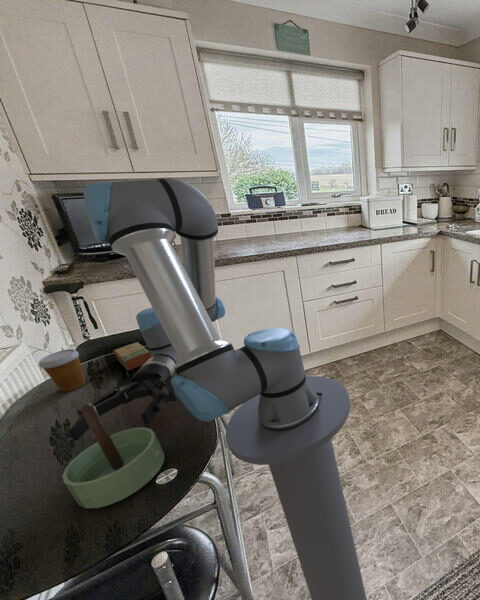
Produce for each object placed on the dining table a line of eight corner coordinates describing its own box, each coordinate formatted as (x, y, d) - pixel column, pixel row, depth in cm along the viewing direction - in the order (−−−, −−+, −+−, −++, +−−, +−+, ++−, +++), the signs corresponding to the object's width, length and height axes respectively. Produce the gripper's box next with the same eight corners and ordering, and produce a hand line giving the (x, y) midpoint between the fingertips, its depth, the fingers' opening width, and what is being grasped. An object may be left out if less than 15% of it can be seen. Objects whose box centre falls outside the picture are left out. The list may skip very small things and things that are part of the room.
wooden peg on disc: (143, 457, 76) (110, 389, 69) (141, 477, 70) (104, 405, 64) (105, 473, 73) (66, 403, 66) (100, 495, 67) (56, 422, 60)
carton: (141, 350, 133) (138, 341, 131) (154, 360, 123) (150, 350, 122) (116, 359, 127) (112, 350, 126) (127, 371, 117) (123, 361, 116)
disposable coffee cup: (59, 397, 105) (41, 365, 101) (51, 390, 110) (33, 359, 106) (96, 381, 113) (81, 351, 108) (87, 375, 118) (72, 346, 113)
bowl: (166, 440, 81) (155, 418, 79) (164, 482, 69) (152, 457, 67) (87, 472, 74) (73, 449, 72) (69, 526, 62) (52, 499, 59)
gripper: (207, 376, 93) (179, 427, 74) (108, 396, 88) (50, 456, 69) (199, 353, 90) (167, 399, 71) (96, 373, 86) (32, 428, 66)
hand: (109, 427), depth 70 cm, fingers open, 13 cm apart
